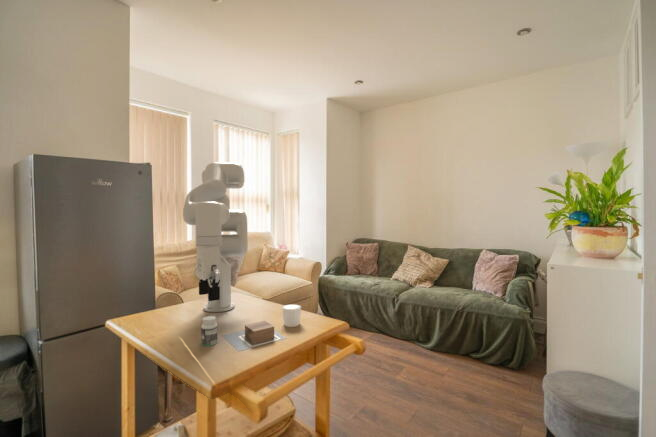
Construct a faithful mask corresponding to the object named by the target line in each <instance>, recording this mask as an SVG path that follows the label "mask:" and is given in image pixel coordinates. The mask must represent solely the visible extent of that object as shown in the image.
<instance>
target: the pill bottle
mask: <svg viewBox="0 0 656 437" xmlns="http://www.w3.org/2000/svg"><path fill="white" fill-rule="evenodd" d="M201 323H202V324H201V327H200V330H201V332H200V334H201V339H200V340H201V346H204V347H211V346H214V345H216V344H218V341H219V340H218V323H217V316H215V315H208V316H204V317H202V320H201Z"/></svg>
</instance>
